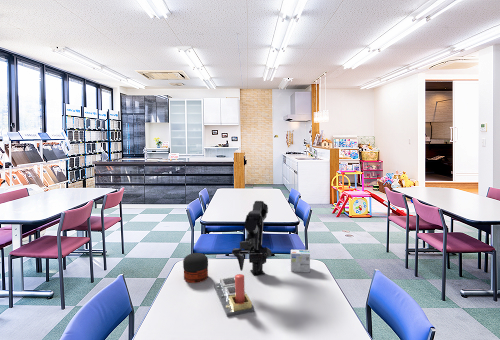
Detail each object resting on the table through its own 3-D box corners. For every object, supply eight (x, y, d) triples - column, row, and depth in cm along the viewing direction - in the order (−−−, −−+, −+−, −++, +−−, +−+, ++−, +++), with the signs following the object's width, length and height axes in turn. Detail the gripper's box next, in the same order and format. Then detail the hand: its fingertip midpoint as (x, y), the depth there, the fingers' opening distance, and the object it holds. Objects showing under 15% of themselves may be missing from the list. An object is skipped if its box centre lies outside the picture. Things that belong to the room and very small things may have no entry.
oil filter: (192, 270, 173) (178, 280, 161) (191, 249, 172) (178, 257, 160) (212, 274, 168) (200, 284, 156) (212, 252, 167) (199, 261, 155)
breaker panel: (214, 286, 154) (213, 279, 154) (237, 283, 158) (237, 275, 157) (227, 316, 129) (226, 307, 128) (254, 311, 132) (254, 302, 132)
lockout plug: (236, 301, 137) (236, 273, 136) (245, 302, 136) (245, 274, 135) (234, 306, 133) (233, 277, 132) (243, 307, 132) (242, 278, 131)
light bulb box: (309, 267, 177) (309, 249, 176) (310, 272, 170) (310, 253, 169) (290, 267, 178) (290, 248, 177) (290, 272, 171) (290, 253, 170)
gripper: (227, 233, 149) (223, 267, 142) (262, 231, 140) (260, 267, 133) (239, 240, 157) (235, 271, 150) (272, 238, 149) (270, 272, 142)
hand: (249, 270), depth 143 cm, fingers open, 9 cm apart
